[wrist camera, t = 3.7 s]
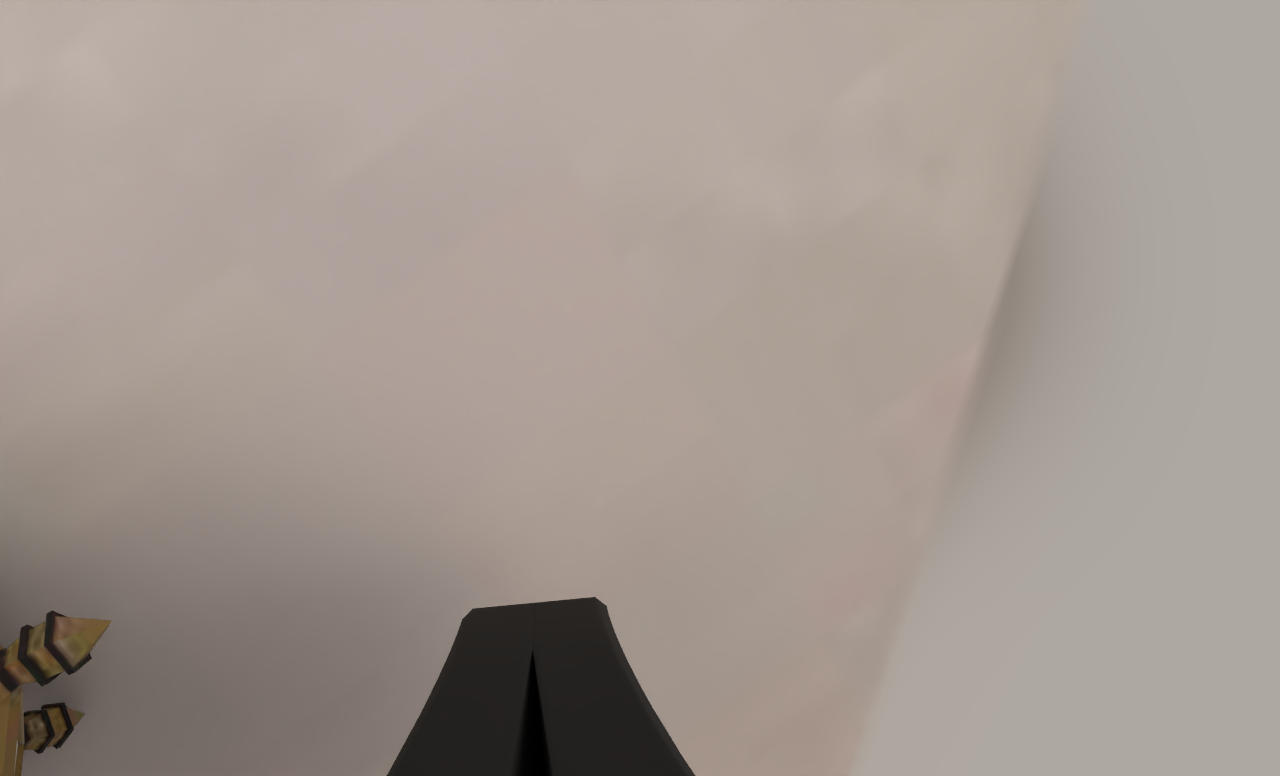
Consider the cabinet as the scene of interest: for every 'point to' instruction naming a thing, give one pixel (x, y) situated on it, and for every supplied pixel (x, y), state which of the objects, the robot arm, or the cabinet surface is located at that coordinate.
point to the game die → (41, 659)
